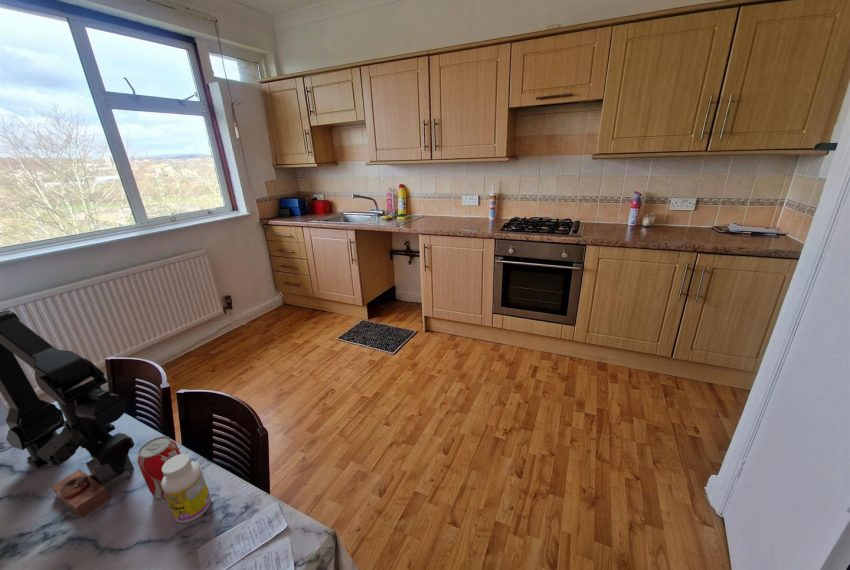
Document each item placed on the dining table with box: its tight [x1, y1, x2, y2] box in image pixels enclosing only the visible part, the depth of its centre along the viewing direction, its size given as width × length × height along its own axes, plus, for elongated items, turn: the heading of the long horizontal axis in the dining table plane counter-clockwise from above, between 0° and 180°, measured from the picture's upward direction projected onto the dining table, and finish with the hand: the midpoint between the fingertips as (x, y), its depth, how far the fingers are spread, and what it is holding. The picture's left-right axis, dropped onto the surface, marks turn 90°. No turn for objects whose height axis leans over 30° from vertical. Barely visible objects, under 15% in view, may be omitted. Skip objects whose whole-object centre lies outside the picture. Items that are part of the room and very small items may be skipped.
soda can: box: [137, 435, 182, 500], centre depth 76 cm, size 7×7×12 cm
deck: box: [50, 468, 131, 519], centre depth 78 cm, size 12×10×4 cm
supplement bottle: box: [161, 453, 212, 524], centre depth 71 cm, size 7×7×13 cm
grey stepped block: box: [85, 455, 135, 485], centre depth 81 cm, size 4×6×7 cm, turn 153°
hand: (110, 466), depth 81 cm, fingers open, 9 cm apart
